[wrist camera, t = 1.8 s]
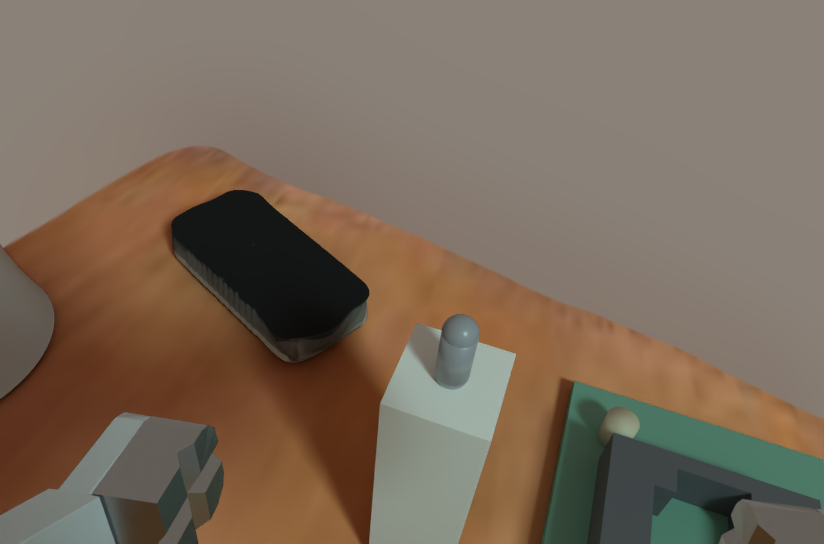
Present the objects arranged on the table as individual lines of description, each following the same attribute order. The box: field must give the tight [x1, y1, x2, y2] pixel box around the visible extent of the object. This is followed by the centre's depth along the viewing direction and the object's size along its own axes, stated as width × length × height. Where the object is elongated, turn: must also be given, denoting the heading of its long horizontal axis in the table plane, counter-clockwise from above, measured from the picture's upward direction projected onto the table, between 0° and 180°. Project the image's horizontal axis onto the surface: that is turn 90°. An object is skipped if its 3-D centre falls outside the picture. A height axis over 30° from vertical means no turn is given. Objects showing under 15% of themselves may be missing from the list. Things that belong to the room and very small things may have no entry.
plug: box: [369, 314, 516, 544], centre depth 30 cm, size 5×4×18 cm
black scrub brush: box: [171, 190, 369, 363], centre depth 47 cm, size 16×8×4 cm, turn 45°
